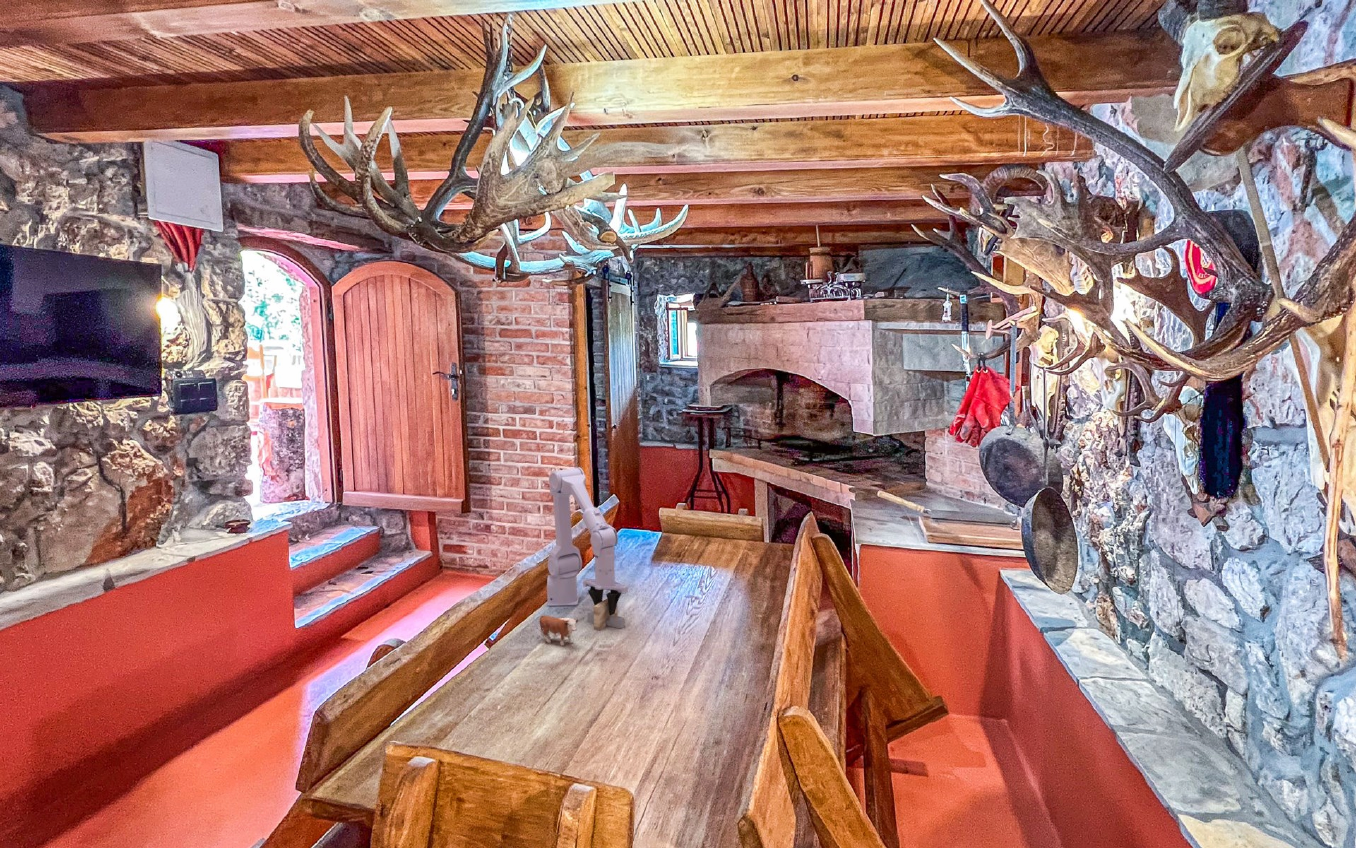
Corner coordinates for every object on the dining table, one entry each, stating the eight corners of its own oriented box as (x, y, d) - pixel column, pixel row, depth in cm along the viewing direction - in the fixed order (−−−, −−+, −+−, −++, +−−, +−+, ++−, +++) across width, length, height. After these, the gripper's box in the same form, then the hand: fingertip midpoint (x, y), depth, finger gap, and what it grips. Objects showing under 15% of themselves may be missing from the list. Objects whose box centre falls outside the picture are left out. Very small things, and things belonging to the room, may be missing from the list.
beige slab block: (599, 630, 220) (598, 607, 219) (594, 629, 221) (593, 606, 220) (617, 618, 228) (617, 596, 228) (612, 617, 229) (612, 595, 228)
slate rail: (587, 621, 226) (587, 612, 226) (590, 619, 228) (590, 610, 228) (621, 628, 221) (621, 619, 221) (624, 626, 222) (624, 617, 222)
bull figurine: (573, 651, 206) (573, 622, 205) (536, 640, 213) (535, 613, 212) (583, 645, 210) (583, 617, 208) (547, 635, 217) (546, 608, 216)
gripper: (576, 569, 222) (577, 613, 224) (618, 576, 215) (619, 621, 217) (590, 562, 228) (591, 605, 230) (631, 569, 222) (631, 613, 223)
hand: (605, 612), depth 224 cm, fingers open, 4 cm apart
